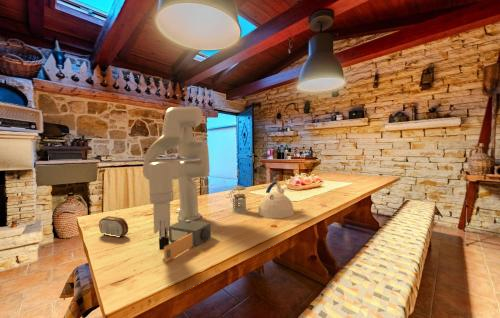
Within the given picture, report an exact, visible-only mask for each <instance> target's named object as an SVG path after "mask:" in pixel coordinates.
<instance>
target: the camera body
mask: <svg viewBox="0 0 500 318" xmlns="http://www.w3.org/2000/svg"><path fill="white" fill-rule="evenodd" d="M211 231H212V230H211V222H208V221H206V222H205V221H200V220H186V219H184V220H182V221H177V222H176V223H173V224H170V229H169V231H168V236H169V242H171V243H172V242H174V241H176V240H178V239H180V238H182V237H184V236H186V235H188V234H190V233H193V247H198V246H199V245H200V244H202V243H204V242H205V241H207V240H208V239H210V238H211V237H212V233H211Z"/></svg>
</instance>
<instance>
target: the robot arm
mask: <svg viewBox="0 0 500 318" xmlns="http://www.w3.org/2000/svg"><path fill="white" fill-rule="evenodd" d="M203 116H204V114H203V109H202V108H201V107H200V106H172V107H168V109H166V111H165V114H164V117H163V118H164V120H163V124H162V129H161V136H160V137H159V138H158V139H156V140H155V141H154V142H153V143H152V144H151V145H150V146H149V147H148V149H147V150H146V152H145V155H144V160H143V165H142V174H143V178H145V179H146V180H148V182H149V183H148V186H149V190H148V191H149V203H150V204H153V205H152V206H153V207H152V208H153V209H152V210H153V211H152V212H153V232H154V234H157V233H158V235H159V236H158V246H159V247H158V248H159V251H162V250H163V251H164V246H166V245H168V244H170V241H169V229H170V226H171V203H172V202H173V201H174V189H173V187H174V185H173V181H174V180H178V181H177V182H178V192H179V195H178V196H179V199H178V200H179V208H177V209H176V211H175V214H178V216H177V221H178V222H180V221H182V220H184V219H186V220H193V221H198V220H199V219H201V218H202V214H201V213H200V212H199V204H198V203H199V202H198V201H199V199H198V185H197V183H196V182H195V181H194V179H195V178H196V179H197V178H200V179H201V178H206V177H208V176H209V175H210V158H209V157H210V155H209V146H208V143H207V142H206V140H204V139H203V140H202V139H196V140H194V132H193V129H192V128H196V127H199V126H200V124H201V123H202V122H203V118H204V117H203ZM175 147H176V149H177V155H178V157H179V158H182V159H185V160H181V161H180V160H177V159H168V160H167V159H159V160H157V158H158V157H159V156H160V155H162V154H163V153H164V152H166V151H169V150H171V149H174V148H175ZM186 159H188V160H186ZM189 159H191V160H189ZM194 159H195V160H194Z"/></svg>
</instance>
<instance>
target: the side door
mask: <svg viewBox="0 0 500 318" xmlns="http://www.w3.org/2000/svg"><path fill="white" fill-rule="evenodd" d="M193 247H194V246H193V233H190V234H188V235H186V236H184V237H182V238H180V239H178V240H176V241H174V242H172V241H171V243H170V242H169V244H168V245H166V246H164V250H163V253H164V254H163V257H164V262H165V263H167V262H170V261H171V260H173V259H174V258H176V257H177V256H179V255H181V254H183V253H184V252H185V251H188V250H189V249H191V248H193Z"/></svg>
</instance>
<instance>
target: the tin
mask: <svg viewBox="0 0 500 318" xmlns="http://www.w3.org/2000/svg"><path fill="white" fill-rule="evenodd" d="M98 228H99V232H100V233H101V234H102V233H106V234H111V235H116V236H122V237H124V236H126V235H127V234H128V232H129V225H128V223H127V221H126V219H124V218H122V217H119V216H118V217H117V216H105V217H103V218H101V219H100V220H99V222H98Z"/></svg>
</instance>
